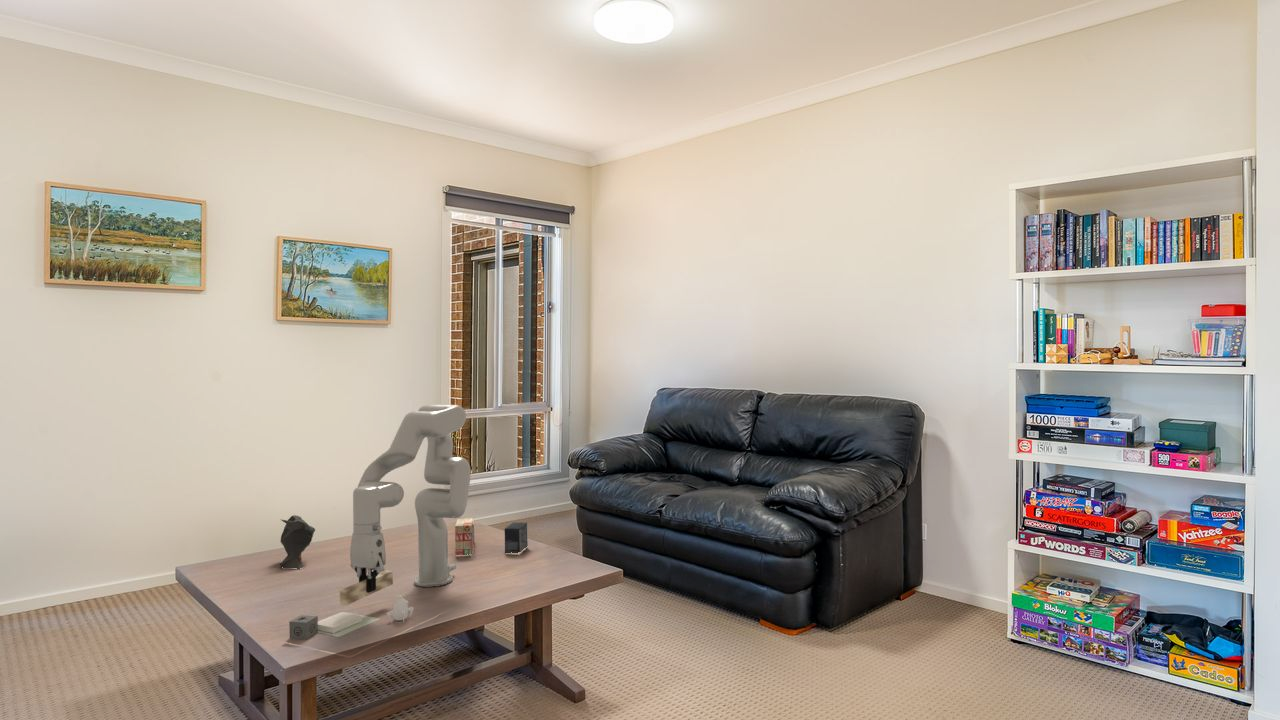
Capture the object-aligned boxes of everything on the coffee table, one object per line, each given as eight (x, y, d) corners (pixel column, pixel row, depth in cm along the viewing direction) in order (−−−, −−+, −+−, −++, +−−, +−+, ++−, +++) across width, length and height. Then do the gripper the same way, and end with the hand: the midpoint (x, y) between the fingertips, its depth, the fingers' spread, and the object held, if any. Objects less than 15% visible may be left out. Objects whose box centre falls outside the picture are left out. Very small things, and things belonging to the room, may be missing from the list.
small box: (512, 548, 290) (512, 521, 290) (528, 548, 289) (527, 522, 289) (503, 555, 279) (503, 527, 279) (520, 555, 278) (519, 528, 278)
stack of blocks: (459, 543, 298) (458, 513, 298) (474, 542, 299) (474, 513, 299) (455, 557, 277) (454, 525, 277) (472, 556, 278) (471, 524, 278)
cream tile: (341, 612, 210) (312, 623, 201) (361, 615, 207) (333, 627, 198) (341, 617, 210) (312, 629, 201) (361, 621, 207) (333, 633, 198)
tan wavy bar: (386, 583, 223) (386, 570, 222) (392, 584, 222) (392, 571, 221) (340, 604, 206) (339, 590, 206) (346, 605, 205) (345, 591, 205)
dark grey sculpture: (326, 558, 277) (325, 511, 277) (300, 569, 262) (300, 519, 262) (292, 556, 280) (292, 510, 280) (265, 568, 265) (264, 518, 265)
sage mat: (344, 613, 215) (344, 612, 215) (380, 620, 209) (380, 618, 209) (302, 630, 201) (302, 629, 201) (338, 638, 195) (338, 636, 195)
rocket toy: (413, 618, 211) (413, 591, 211) (404, 625, 205) (404, 597, 205) (396, 617, 211) (396, 590, 211) (386, 624, 206) (386, 596, 206)
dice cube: (301, 633, 200) (301, 615, 200) (317, 634, 199) (317, 616, 199) (289, 640, 195) (289, 621, 195) (306, 641, 194) (306, 622, 194)
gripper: (396, 528, 214) (397, 590, 214) (356, 523, 221) (357, 583, 221) (377, 533, 207) (378, 597, 207) (337, 528, 214) (337, 590, 214)
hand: (367, 590), depth 214 cm, fingers closed on tan wavy bar, 2 cm apart
